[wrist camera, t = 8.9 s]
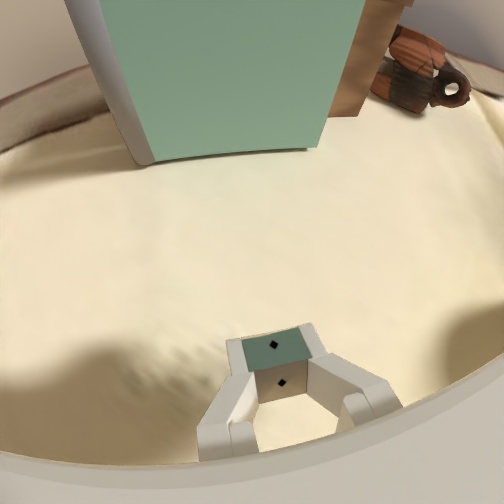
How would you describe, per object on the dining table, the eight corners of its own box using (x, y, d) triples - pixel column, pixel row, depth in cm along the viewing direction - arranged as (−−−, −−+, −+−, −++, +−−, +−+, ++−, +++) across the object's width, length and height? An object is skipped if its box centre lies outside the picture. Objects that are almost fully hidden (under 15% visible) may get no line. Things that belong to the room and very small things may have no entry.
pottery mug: (340, 82, 26) (359, 10, 20) (373, 86, 32) (390, 30, 26) (452, 136, 21) (481, 56, 15) (460, 131, 27) (482, 71, 21)
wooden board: (164, 140, 22) (121, -9, 9) (162, 102, 23) (131, -32, 11) (361, 118, 24) (416, -6, 11) (342, 84, 25) (381, -33, 12)
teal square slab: (131, 167, 21) (56, 4, 7) (134, 142, 21) (72, -14, 8) (317, 149, 22) (373, -21, 8) (310, 125, 22) (354, -36, 9)
